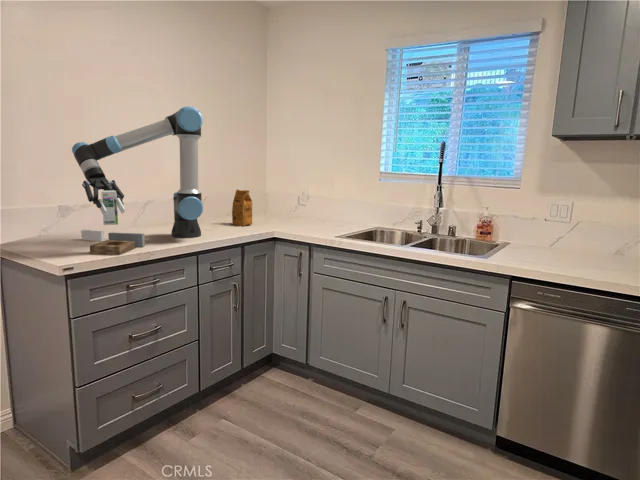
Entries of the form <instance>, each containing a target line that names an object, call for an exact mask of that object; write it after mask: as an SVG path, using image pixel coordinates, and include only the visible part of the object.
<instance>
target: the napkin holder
mask: <svg viewBox="0 0 640 480" xmlns="http://www.w3.org/2000/svg"><path fill="white" fill-rule="evenodd" d="M80 233H81V240H83V241H91V242H103V241H106V240H105V230H100V229H97V230H96V229H93V228H91V229H86V228H85V229H81V230H80Z"/></svg>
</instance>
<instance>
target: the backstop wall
mask: <svg viewBox="0 0 640 480" xmlns="http://www.w3.org/2000/svg"><path fill="white" fill-rule="evenodd" d="M107 234H108V236H107V237H108V240H113V241H135V248H144V247H145V246H146V245H145V234H144V232H143V233H140V232H139V233H136V232H133V233H132V232H108V233H107Z"/></svg>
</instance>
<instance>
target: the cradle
mask: <svg viewBox="0 0 640 480" xmlns="http://www.w3.org/2000/svg"><path fill="white" fill-rule="evenodd" d="M135 249H136V247H135V241H113V240H109V239H107V240H104V241H99V242H96V243H94V244H91V245H89V253H90V255H115V256H116V255H117V256H120V255H123V254H126V253H128V252H130V251H133V250H135Z"/></svg>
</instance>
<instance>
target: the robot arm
mask: <svg viewBox="0 0 640 480" xmlns="http://www.w3.org/2000/svg"><path fill="white" fill-rule="evenodd" d="M203 120H204V118H203V115H202V112H200V110H198V109H197V108H196V107H194V106H189V105H188V106H183V107H181V108H179V109H178V110H177V111H175V112H174V113H172V114H170V115H168V116H165V118H164V119H163V120H160V121H159V120H158V121H157V122H154V123H150V124H147V125H144V126H141V127H139V128H136V129H132V130H129V131H126V132H124V133H121V134H117V135H110V136H107V137H105V138H102V139H100V140H98V141H95V142H92V143H90V144H88V143H87V142H84V141H79V142H76V143H75V144H73V146H72V147H71V152H72V154H73V157H74V159H75V161H76V163H77V164H78V167H79V168H80V169H81V171H82V173H83V175H84V177H85V180H83V182H82V184H81V186H82V187H83V188H84V191H85V194H86V197H87V200H88V202H89V203H91V202H92V204H93V205H95V206H96V207H97V208H98V209H99V210H100V212H101V214H102V216H103V215H105V214H106V211H107V210H106V208H105V206H104V204H103V202H102V198H99V190H101V191H102V190H116V196H117V209H118V210H119V212H120V213H121V214H124V213H125V211H126V208H125V206H124V201H123V200H124V198H125V194H124V193H123V192H122V191H121V189H120V188H119V186H118V185H117V183H116V180H115V179H112V180H109V179H107V177H106V174H105V173H104V171H103V169H102V167H101V165H100V164H99V162H98V161H100V160H102V159H104V158H107V157H109V156H113V155H115V154H119V153H121V152H124V151H127V150H129V149H132V148H135V147H138V146H142V145H144V144H147V143H150V142H152V141H156V140H158V139H161V138H165V137H167V136H173V137H174V136H176V137H178V139H179V182H180V183H179V187H180V188H179V189H178V190H177V191H176V192H174V193H173V195H172V196H173V198H172V200H173V215H174V216H173V218H174V223H173V225H172V229H171V231H170V232H171V237H173V238H179V239H180V238H181V239H182V238H183V239H184V238H185V239H186V238H197V237H201V236H202V231H201V227H200V225H199V224H200V223H199V222H198V218H200V217H201V215H202V214H203V212H204V204H203V201H202V200H203V199H202V191H201V190H200V189H199V139H200V138H201V137H202V126H203V123H204V121H203ZM91 187H92V189H91ZM92 190H93V192H92Z"/></svg>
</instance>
